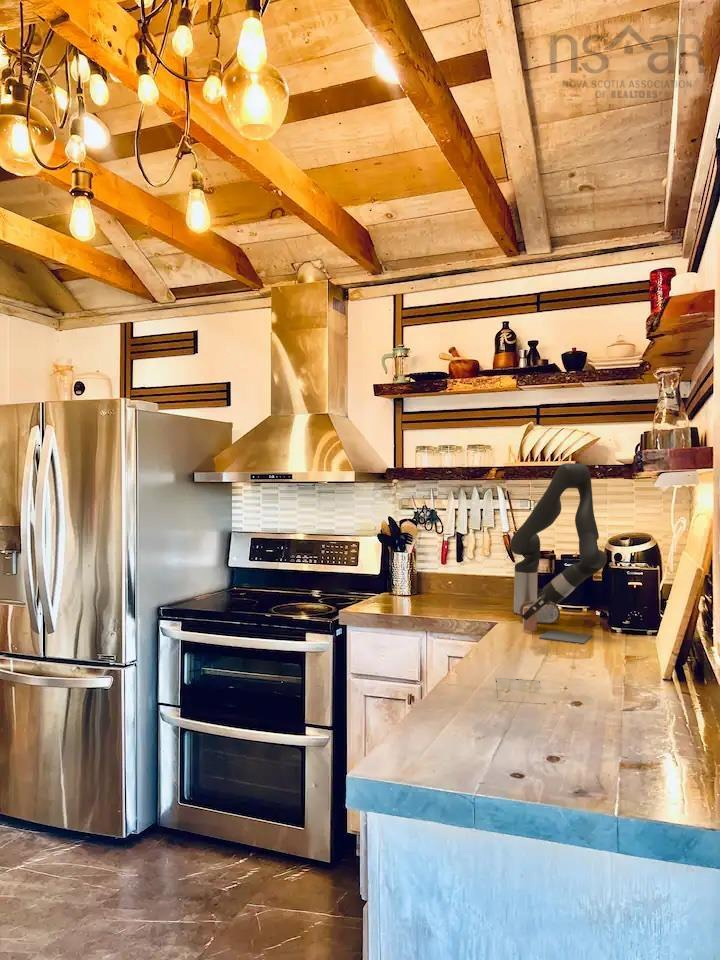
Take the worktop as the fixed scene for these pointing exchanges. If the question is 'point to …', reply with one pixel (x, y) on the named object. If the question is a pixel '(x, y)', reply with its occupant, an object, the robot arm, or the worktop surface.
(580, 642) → the mat
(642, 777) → the worktop surface
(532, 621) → the block
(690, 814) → the worktop surface
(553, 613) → the tin
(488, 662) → the worktop surface
